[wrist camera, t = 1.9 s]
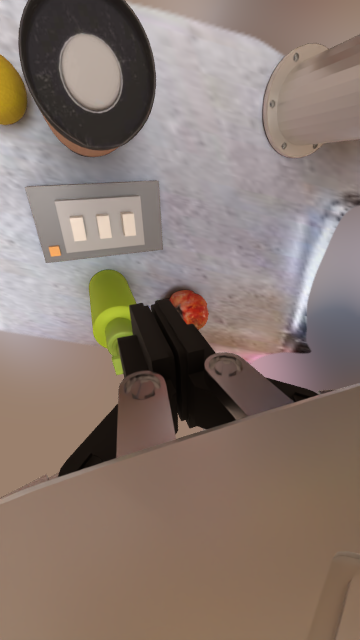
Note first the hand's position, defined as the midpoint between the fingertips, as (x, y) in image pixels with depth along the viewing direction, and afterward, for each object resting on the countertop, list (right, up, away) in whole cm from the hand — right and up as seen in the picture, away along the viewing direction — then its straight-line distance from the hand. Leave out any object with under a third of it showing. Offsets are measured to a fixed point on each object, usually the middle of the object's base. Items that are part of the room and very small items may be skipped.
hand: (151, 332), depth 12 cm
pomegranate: (+1, +3, +36) cm, 36 cm away
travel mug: (-10, +24, +20) cm, 33 cm away
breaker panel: (-10, +14, +26) cm, 31 cm away
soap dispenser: (-9, +6, +31) cm, 33 cm away
